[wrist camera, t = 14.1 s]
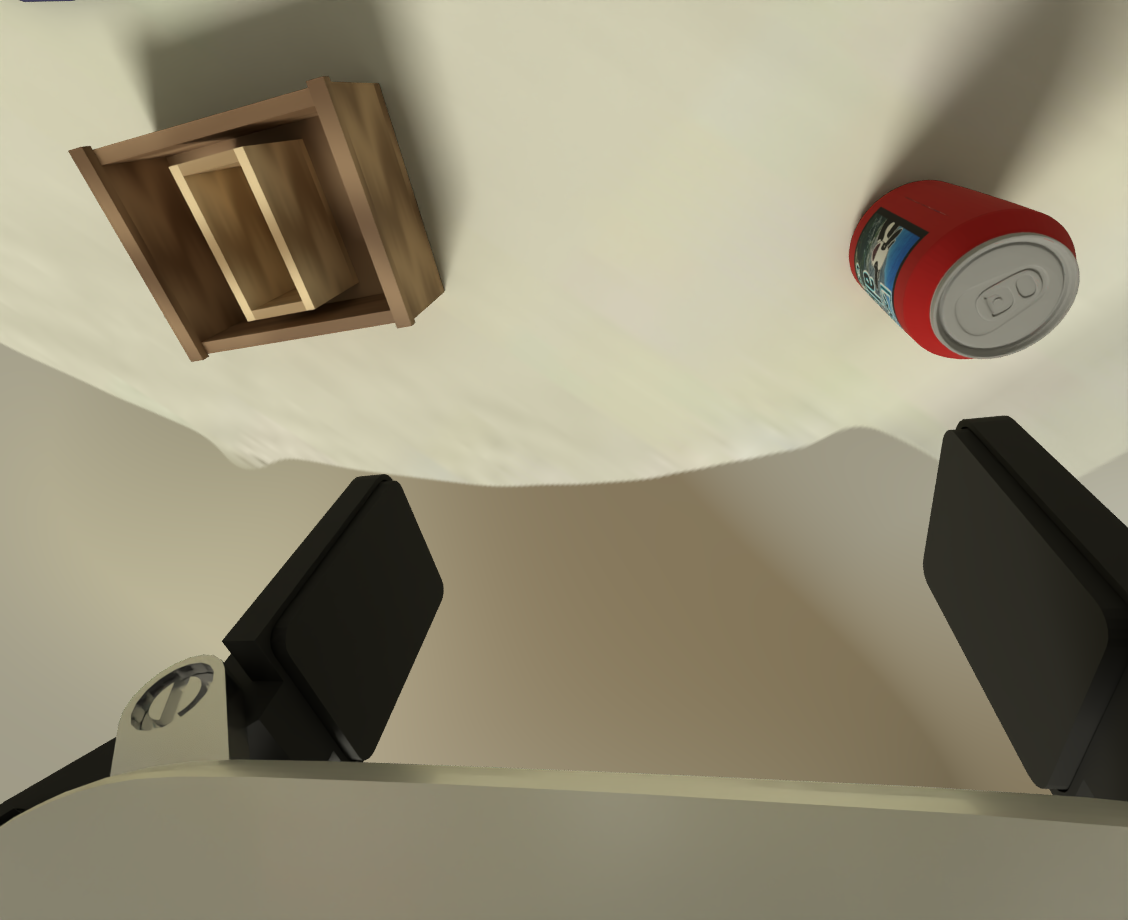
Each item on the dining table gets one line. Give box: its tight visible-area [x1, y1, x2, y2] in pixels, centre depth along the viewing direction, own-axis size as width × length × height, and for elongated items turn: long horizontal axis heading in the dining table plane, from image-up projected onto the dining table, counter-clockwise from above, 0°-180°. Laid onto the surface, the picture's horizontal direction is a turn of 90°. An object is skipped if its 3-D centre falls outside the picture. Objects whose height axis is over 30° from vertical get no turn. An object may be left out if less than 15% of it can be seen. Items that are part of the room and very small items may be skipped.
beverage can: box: [849, 180, 1079, 359], centre depth 29 cm, size 7×7×12 cm
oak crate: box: [169, 139, 359, 321], centre depth 36 cm, size 9×5×6 cm, turn 12°
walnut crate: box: [69, 76, 444, 362], centre depth 36 cm, size 13×17×7 cm
